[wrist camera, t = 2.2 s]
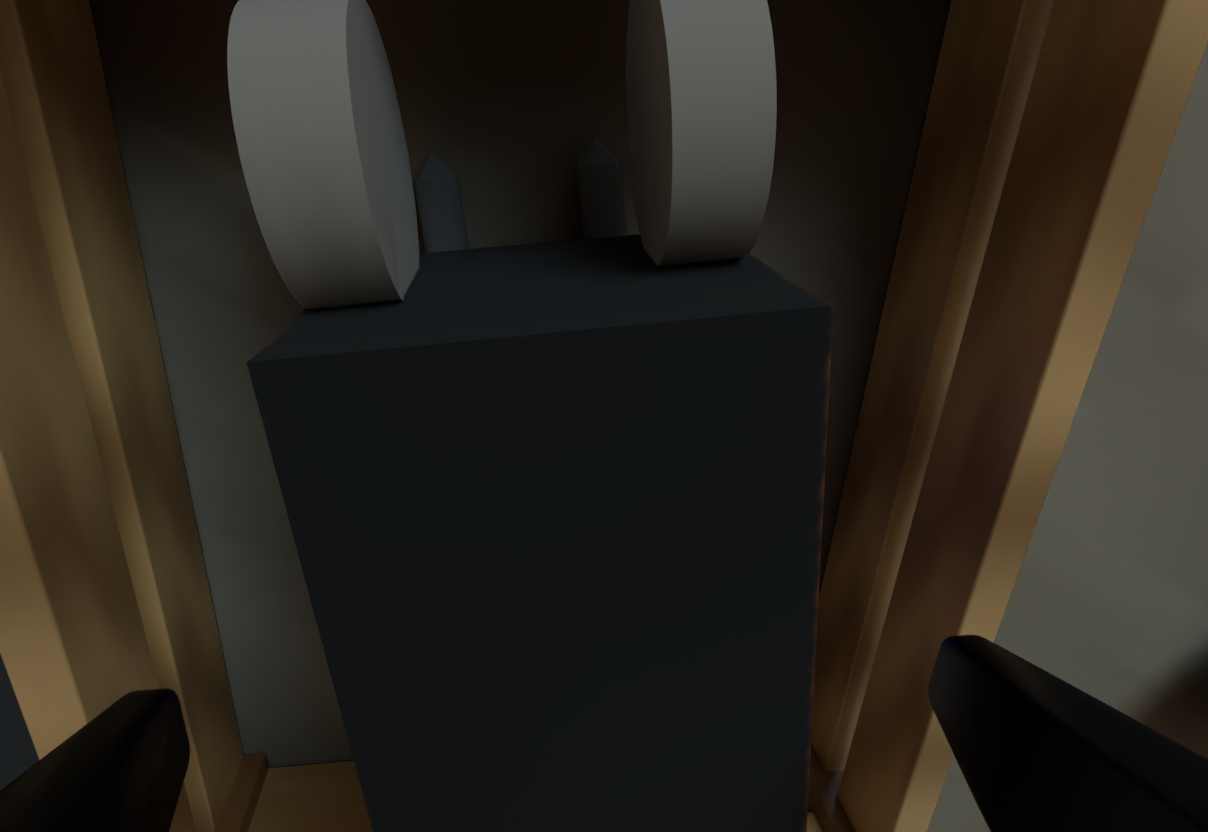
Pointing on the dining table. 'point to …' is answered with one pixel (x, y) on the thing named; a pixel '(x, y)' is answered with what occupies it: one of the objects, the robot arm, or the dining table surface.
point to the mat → (13, 734)
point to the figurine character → (546, 442)
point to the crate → (877, 462)
